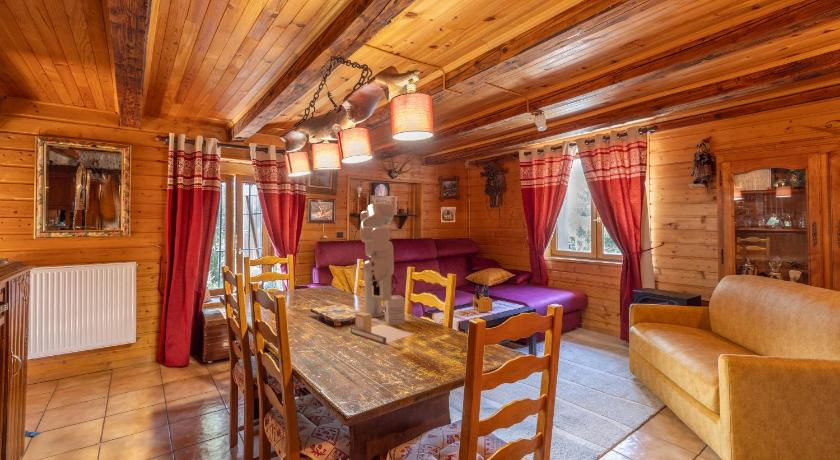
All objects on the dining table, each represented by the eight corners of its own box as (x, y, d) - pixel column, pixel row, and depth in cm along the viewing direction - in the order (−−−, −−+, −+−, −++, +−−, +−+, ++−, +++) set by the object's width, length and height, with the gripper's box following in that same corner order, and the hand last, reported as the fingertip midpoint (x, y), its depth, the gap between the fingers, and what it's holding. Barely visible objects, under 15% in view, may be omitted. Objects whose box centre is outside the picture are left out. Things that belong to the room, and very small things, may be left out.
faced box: (362, 330, 192) (361, 311, 192) (371, 333, 187) (371, 314, 187) (355, 332, 189) (355, 313, 189) (364, 335, 184) (364, 316, 184)
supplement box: (384, 323, 209) (383, 295, 208) (400, 322, 211) (400, 294, 211) (387, 328, 200) (387, 299, 199) (405, 326, 203) (404, 297, 202)
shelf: (381, 327, 202) (381, 319, 202) (414, 336, 186) (414, 328, 186) (350, 335, 188) (350, 327, 188) (384, 347, 172) (384, 338, 172)
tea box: (376, 297, 186) (376, 273, 185) (391, 299, 180) (391, 275, 180) (370, 298, 182) (369, 274, 182) (384, 301, 177) (384, 276, 176)
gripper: (373, 256, 171) (373, 298, 172) (398, 253, 185) (398, 292, 186) (361, 255, 176) (361, 296, 177) (386, 252, 189) (386, 290, 190)
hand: (380, 293), depth 181 cm, fingers closed on tea box, 4 cm apart
